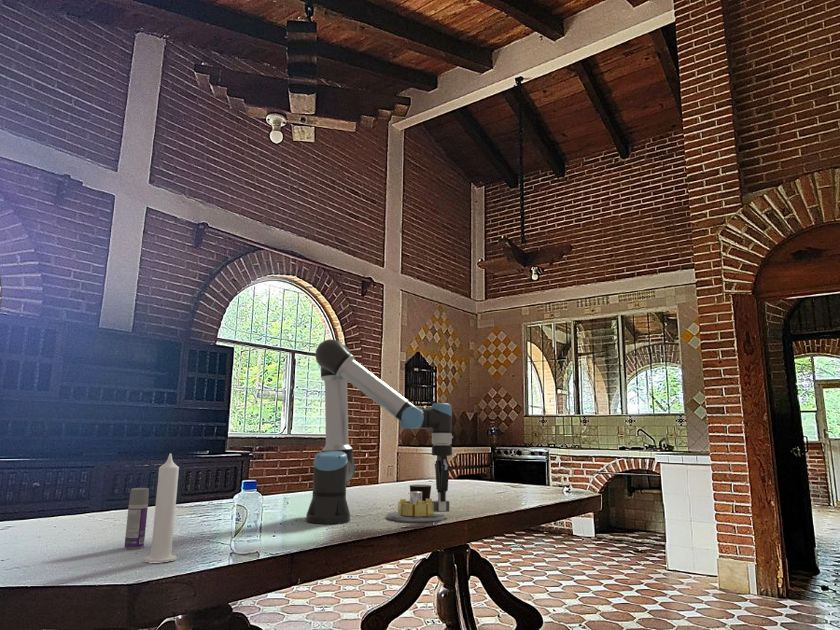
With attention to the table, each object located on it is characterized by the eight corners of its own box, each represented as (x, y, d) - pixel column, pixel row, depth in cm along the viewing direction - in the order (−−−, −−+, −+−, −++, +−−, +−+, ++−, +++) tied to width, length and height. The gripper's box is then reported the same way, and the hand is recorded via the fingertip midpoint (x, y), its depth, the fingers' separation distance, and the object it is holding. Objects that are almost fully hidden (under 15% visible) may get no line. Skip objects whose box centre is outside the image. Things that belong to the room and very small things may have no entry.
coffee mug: (428, 513, 227) (429, 486, 229) (407, 512, 229) (407, 486, 231) (434, 509, 238) (434, 484, 240) (413, 509, 240) (413, 483, 242)
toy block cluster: (403, 516, 208) (403, 501, 209) (395, 512, 219) (395, 497, 220) (453, 515, 213) (453, 500, 214) (443, 510, 224) (443, 496, 225)
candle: (180, 557, 145) (189, 453, 150) (169, 563, 138) (179, 454, 143) (151, 557, 145) (161, 452, 149) (139, 563, 138) (150, 453, 142)
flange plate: (384, 522, 205) (384, 494, 207) (389, 513, 226) (390, 488, 227) (444, 523, 204) (444, 495, 206) (444, 514, 225) (444, 489, 226)
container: (138, 545, 159) (144, 487, 162) (147, 547, 156) (152, 488, 159) (120, 547, 155) (127, 488, 158) (129, 550, 152) (135, 490, 155)
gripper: (456, 444, 216) (456, 512, 211) (447, 444, 228) (447, 508, 223) (436, 444, 214) (436, 512, 209) (428, 444, 226) (428, 509, 221)
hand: (442, 510), depth 216 cm, fingers closed
